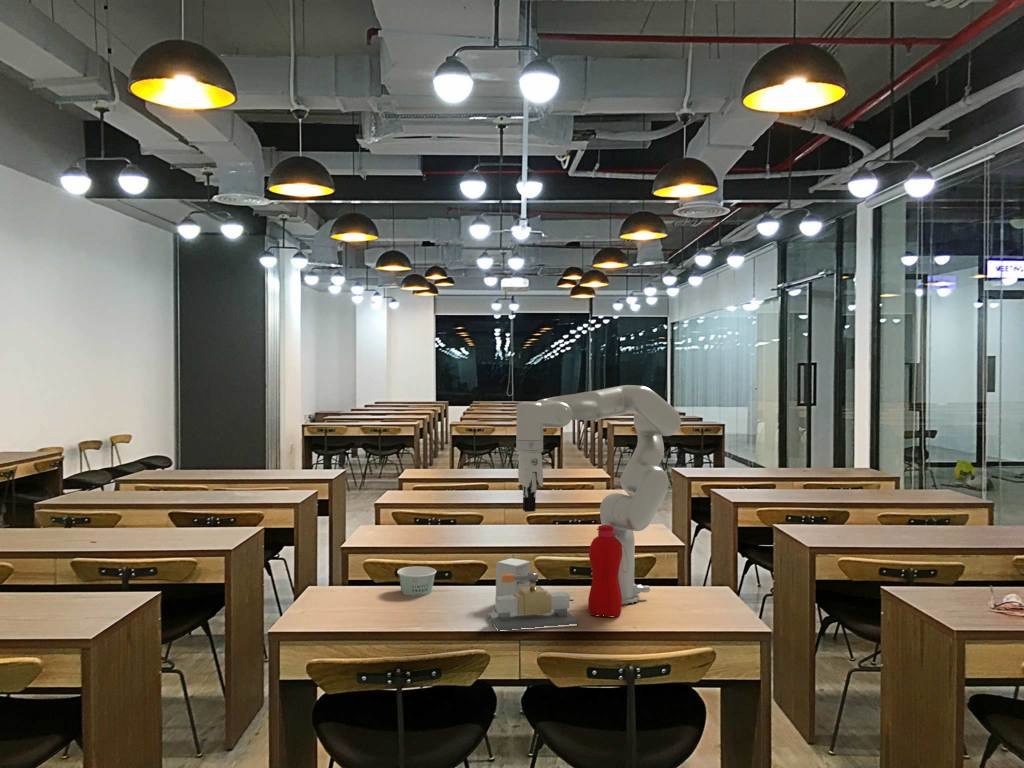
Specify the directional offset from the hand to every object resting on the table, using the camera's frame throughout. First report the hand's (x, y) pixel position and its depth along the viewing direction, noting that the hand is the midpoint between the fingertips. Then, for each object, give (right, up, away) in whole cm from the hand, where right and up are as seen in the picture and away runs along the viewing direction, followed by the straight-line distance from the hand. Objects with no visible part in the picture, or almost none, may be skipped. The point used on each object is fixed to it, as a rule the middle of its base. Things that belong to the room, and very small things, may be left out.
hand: (529, 510), depth 245 cm
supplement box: (-5, -29, +10) cm, 31 cm away
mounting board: (+1, -29, -7) cm, 30 cm away
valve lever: (-3, -18, -8) cm, 20 cm away
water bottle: (+22, -30, +1) cm, 37 cm away
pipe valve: (+1, -28, -7) cm, 29 cm away
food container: (-34, -28, +23) cm, 50 cm away
